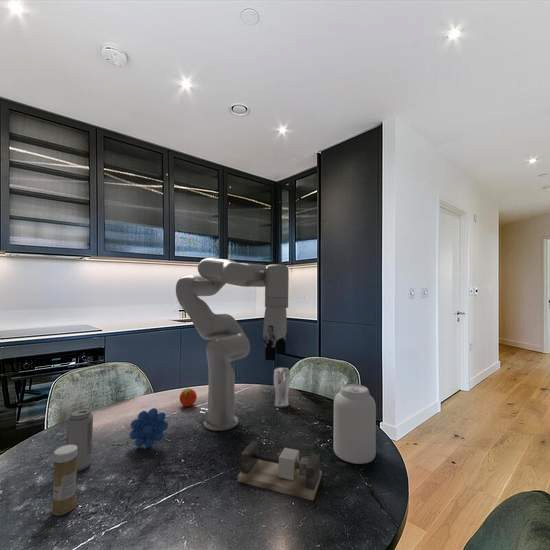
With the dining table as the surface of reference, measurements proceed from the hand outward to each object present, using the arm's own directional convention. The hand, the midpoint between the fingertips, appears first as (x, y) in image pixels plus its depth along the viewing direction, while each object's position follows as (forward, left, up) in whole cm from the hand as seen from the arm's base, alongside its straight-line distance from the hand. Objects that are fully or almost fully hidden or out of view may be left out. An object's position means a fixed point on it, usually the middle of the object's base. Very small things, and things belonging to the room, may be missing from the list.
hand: (275, 356), depth 99 cm
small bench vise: (+7, -15, -28) cm, 33 cm away
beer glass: (-9, +33, -28) cm, 45 cm away
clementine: (-45, +17, -28) cm, 56 cm away
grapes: (-37, -14, -28) cm, 49 cm away
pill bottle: (-35, -43, -28) cm, 62 cm away
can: (+24, +5, -28) cm, 38 cm away
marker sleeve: (+9, -15, -26) cm, 32 cm away
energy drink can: (-47, -30, -28) cm, 63 cm away
